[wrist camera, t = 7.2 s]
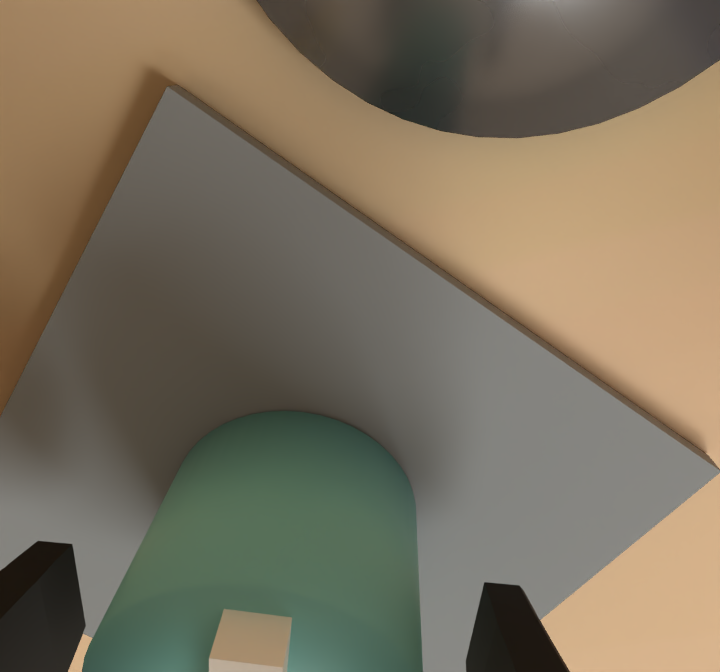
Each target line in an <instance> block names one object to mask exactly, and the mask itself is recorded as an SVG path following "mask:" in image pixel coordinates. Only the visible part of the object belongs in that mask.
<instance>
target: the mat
mask: <svg viewBox="0 0 720 672" xmlns="http://www.w3.org/2000/svg"><path fill="white" fill-rule="evenodd" d="M270 411H295V412H306V413H311V414H316V415H321V416H325V417H328V418H331V419H335V420H338V421H340V422H343V423H345V424H347V425H350V426H352V427H354V428H356V429H358V430H359V431H361V432H363V433H365V434H366V435H368V436H369V437H371V438H372V439H373V440H375V441H376V442H377V443H379V444H380V445H381V446H382V447H383V448H384V449H385V450H387V451H388V452H389V453H390V454H391V455H392V456H393V458H394V459H395V460H396V461H397V463H398V464H399V465H400V466H401V468H402V470H403V471H404V473H405V475H406V476H407V478H408V480H409V483H410V485H411V488H412V490H413V494H414V498H415V503H416V519H417V543H418V566H419V590H420V614H421V637H422V661H423V672H466V657H467V653H468V649H469V645H470V640H471V636H472V632H473V628H474V623H475V619H476V615H477V611H478V607H479V602H480V598H481V594H482V590H483V585H484V582H489V583H500V584H510V585H519V586H520V587H521V588H522V589H523V590H524V592H525V594H526V595H527V597H528V599H529V601H530V603H531V605H532V607H533V608H534V610H535V612H536V614H537V616H538V618H539V619H540V620H541V619H542V618H543V617H544V616H546V615H547V614H548V613H549V612H550V611H552V610H553V609H554V608H555V607H557V606H558V605H559V604H560V603H561V602H563V601H564V600H565V599H566V598H568V597H569V596H570V595H571V594H572V593H574V592H575V591H576V590H577V589H579V588H580V587H581V586H582V585H583V584H585V583H586V582H587V581H588V580H590V579H591V578H592V577H593V576H594V575H596V574H597V573H598V572H599V571H601V570H602V569H603V568H604V567H605V566H607V565H608V564H609V563H610V562H611V561H613V560H614V559H615V558H616V557H618V556H619V555H620V554H621V553H622V552H624V551H625V550H626V549H627V548H629V547H630V546H631V545H632V544H633V543H635V542H636V541H637V540H638V539H640V538H641V537H642V536H643V535H644V534H646V533H647V532H648V531H649V530H651V529H652V528H653V527H654V526H655V525H657V524H658V523H659V522H660V521H662V520H663V519H664V518H665V517H666V516H668V515H669V514H670V513H671V512H673V511H674V510H675V509H676V508H677V507H679V506H680V505H681V504H682V503H684V502H685V501H686V500H687V499H688V498H690V497H691V496H692V495H693V494H695V493H696V492H697V491H698V490H699V489H701V488H702V487H703V486H704V485H705V484H707V483H708V482H709V481H710V480H712V479H713V478H714V477H715V476H716V475H718V474H719V473H720V469H719V468H718V467H717V466H716V464H715V463H714V462H713V461H712V459H711V458H710V457H709V456H708V455H707V454H705V453H704V452H702V451H701V450H700V449H698V448H697V447H695V446H694V445H692V444H691V443H690V442H688V441H687V440H685V439H684V438H682V437H681V436H679V435H678V434H677V433H675V432H674V431H672V430H671V429H669V428H668V427H667V426H665V425H664V424H662V423H661V422H659V421H658V420H657V419H655V418H654V417H652V416H651V415H649V414H648V413H647V412H645V411H644V410H642V409H641V408H639V407H638V406H637V405H635V404H634V403H632V402H631V401H629V400H628V399H627V398H625V397H624V396H622V395H621V394H619V393H618V392H617V391H615V390H614V389H612V388H611V387H609V386H608V385H607V384H605V383H604V382H602V381H601V380H599V379H598V378H596V377H595V376H594V375H592V374H591V373H589V372H588V371H586V370H585V369H584V368H582V367H581V366H579V365H578V364H576V363H575V362H574V361H572V360H571V359H569V358H568V357H566V356H565V355H564V354H562V353H561V352H559V351H558V350H556V349H555V348H554V347H552V346H551V345H549V344H548V343H546V342H545V341H544V340H542V339H541V338H539V337H538V336H536V335H535V334H534V333H532V332H531V331H529V330H528V329H526V328H525V327H524V326H522V325H521V324H519V323H518V322H516V321H515V320H513V319H512V318H511V317H509V316H508V315H506V314H505V313H503V312H502V311H501V310H499V309H498V308H496V307H495V306H493V305H492V304H491V303H489V302H488V301H486V300H485V299H483V298H482V297H481V296H479V295H478V294H476V293H475V292H473V291H472V290H471V289H469V288H468V287H466V286H465V285H463V284H462V283H461V282H459V281H458V280H456V279H455V278H453V277H452V276H451V275H449V274H448V273H446V272H445V271H443V270H442V269H440V268H439V267H438V266H436V265H435V264H433V263H432V262H430V261H429V260H428V259H426V258H425V257H423V256H422V255H420V254H419V253H418V252H416V251H415V250H413V249H412V248H410V247H409V246H408V245H406V244H405V243H403V242H402V241H400V240H399V239H398V238H396V237H395V236H393V235H392V234H390V233H389V232H388V231H386V230H385V229H383V228H382V227H380V226H379V225H378V224H376V223H375V222H373V221H372V220H370V219H369V218H368V217H366V216H365V215H363V214H362V213H360V212H359V211H357V210H356V209H355V208H353V207H352V206H350V205H349V204H347V203H346V202H345V201H343V200H342V199H340V198H339V197H337V196H336V195H335V194H333V193H332V192H330V191H329V190H327V189H326V188H325V187H323V186H322V185H320V184H319V183H317V182H316V181H315V180H313V179H312V178H310V177H309V176H307V175H306V174H305V173H303V172H302V171H300V170H299V169H297V168H296V167H295V166H293V165H292V164H290V163H289V162H287V161H286V160H284V159H283V158H282V157H280V156H279V155H277V154H276V153H274V152H273V151H272V150H270V149H269V148H267V147H266V146H264V145H263V144H262V143H260V142H259V141H257V140H256V139H254V138H253V137H252V136H250V135H249V134H247V133H246V132H244V131H243V130H242V129H240V128H239V127H237V126H236V125H234V124H233V123H232V122H230V121H229V120H227V119H226V118H224V117H223V116H222V115H220V114H219V113H217V112H216V111H214V110H213V109H212V108H210V107H209V106H207V105H206V104H204V103H203V102H201V101H200V100H199V99H197V98H196V97H194V96H193V95H191V94H190V93H189V92H187V91H186V90H184V89H183V88H181V87H180V86H179V85H174V86H167V88H166V90H165V92H164V94H163V96H162V98H161V100H160V102H159V104H158V106H157V108H156V110H155V112H154V113H153V115H152V117H151V119H150V121H149V123H148V125H147V127H146V129H145V131H144V133H143V135H142V137H141V139H140V141H139V143H138V145H137V147H136V149H135V151H134V153H133V155H132V157H131V159H130V161H129V163H128V165H127V167H126V169H125V171H124V173H123V175H122V177H121V179H120V181H119V183H118V185H117V187H116V189H115V191H114V193H113V195H112V197H111V199H110V201H109V203H108V205H107V206H106V208H105V210H104V212H103V214H102V216H101V218H100V220H99V222H98V224H97V226H96V228H95V230H94V232H93V234H92V236H91V238H90V240H89V242H88V244H87V246H86V248H85V250H84V252H83V254H82V256H81V258H80V260H79V262H78V264H77V266H76V268H75V270H74V272H73V274H72V276H71V278H70V280H69V282H68V284H67V286H66V288H65V290H64V292H63V294H62V296H61V298H60V300H59V301H58V303H57V305H56V307H55V309H54V311H53V313H52V315H51V317H50V319H49V321H48V323H47V325H46V327H45V329H44V331H43V333H42V335H41V337H40V339H39V341H38V343H37V345H36V347H35V349H34V351H33V353H32V355H31V357H30V359H29V361H28V363H27V365H26V367H25V369H24V371H23V373H22V375H21V377H20V379H19V381H18V383H17V385H16V387H15V389H14V391H13V393H12V394H11V396H10V398H9V400H8V402H7V404H6V406H5V408H4V410H3V412H2V414H1V416H0V571H1V570H2V569H3V568H4V567H5V566H7V565H8V564H9V563H10V562H12V561H13V560H14V559H15V558H17V557H18V556H19V555H20V554H22V553H23V552H24V551H25V550H27V549H28V548H29V547H31V546H32V545H33V544H34V543H36V542H37V541H46V542H57V543H68V544H72V545H73V551H74V557H75V563H76V569H77V575H78V581H79V587H80V593H81V599H82V605H83V611H84V618H85V624H86V627H85V629H84V632H83V634H85V635H87V636H89V637H92V638H93V637H94V635H95V633H96V631H97V629H98V627H99V625H100V623H101V621H102V619H103V617H104V615H105V613H106V611H107V609H108V607H109V605H110V603H111V601H112V599H113V597H114V596H115V594H116V592H117V590H118V588H119V586H120V584H121V582H122V580H123V578H124V576H125V574H126V572H127V570H128V568H129V566H130V564H131V562H132V560H133V558H134V556H135V554H136V552H137V550H138V549H139V547H140V545H141V543H142V541H143V539H144V537H145V535H146V533H147V531H148V529H149V527H150V525H151V523H152V521H153V519H154V517H155V515H156V513H157V511H158V509H159V507H160V505H161V503H162V502H163V500H164V498H165V496H166V494H167V492H168V490H169V488H170V486H171V484H172V482H173V480H174V478H175V476H176V474H177V472H178V470H179V468H180V466H181V464H182V462H183V461H184V459H185V458H186V456H187V454H188V453H189V451H190V450H191V449H192V448H193V447H194V446H195V445H196V444H197V442H198V441H199V440H201V439H202V438H203V437H204V436H206V435H207V434H208V433H209V432H211V431H213V430H214V429H216V428H218V427H219V426H221V425H223V424H225V423H227V422H230V421H232V420H234V419H237V418H240V417H244V416H247V415H251V414H256V413H263V412H270Z"/></svg>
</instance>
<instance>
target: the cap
mask: <svg viewBox="0 0 720 672" xmlns="http://www.w3.org/2000/svg"><path fill="white" fill-rule="evenodd" d="M82 672H423V661H422V637H421V614H420V590H419V566H418V543H417V519H416V503H415V498H414V494H413V490H412V488H411V485H410V483H409V480H408V478H407V476H406V475H405V473H404V471H403V470H402V468H401V466H400V465H399V464H398V463H397V461H396V460H395V459H394V458H393V456H392V455H391V454H390V453H389V452H388V451H387V450H385V449H384V448H383V447H382V446H381V445H380V444H379V443H377V442H376V441H375V440H373V439H372V438H371V437H369V436H368V435H366V434H365V433H363V432H361V431H359V430H358V429H356V428H354V427H352V426H350V425H347V424H345V423H343V422H340V421H338V420H335V419H331V418H328V417H325V416H321V415H316V414H311V413H306V412H295V411H270V412H263V413H256V414H251V415H247V416H244V417H240V418H237V419H234V420H232V421H230V422H227V423H225V424H223V425H221V426H219V427H218V428H216V429H214V430H213V431H211V432H209V433H208V434H207V435H206V436H204V437H203V438H202V439H201V440H199V441H198V442H197V444H196V445H195V446H194V447H193V448H192V449H191V450H190V451H189V453H188V454H187V456H186V458H185V459H184V461H183V462H182V464H181V466H180V468H179V470H178V472H177V474H176V476H175V478H174V480H173V482H172V484H171V486H170V488H169V490H168V492H167V494H166V496H165V498H164V500H163V502H162V503H161V505H160V507H159V509H158V511H157V513H156V515H155V517H154V519H153V521H152V523H151V525H150V527H149V529H148V531H147V533H146V535H145V537H144V539H143V541H142V543H141V545H140V547H139V549H138V550H137V552H136V554H135V556H134V558H133V560H132V562H131V564H130V566H129V568H128V570H127V572H126V574H125V576H124V578H123V580H122V582H121V584H120V586H119V588H118V590H117V592H116V594H115V596H114V597H113V599H112V601H111V603H110V605H109V607H108V609H107V611H106V613H105V615H104V617H103V619H102V621H101V623H100V625H99V627H98V629H97V631H96V633H95V635H94V637H93V639H92V641H91V643H90V645H89V647H88V650H87V652H86V655H85V657H84V663H83V669H82Z"/></svg>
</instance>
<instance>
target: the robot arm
mask: <svg viewBox="0 0 720 672" xmlns="http://www.w3.org/2000/svg"><path fill="white" fill-rule="evenodd" d="M85 627H86V624H85V618H84V611H83V605H82V599H81V593H80V587H79V581H78V575H77V569H76V563H75V557H74V551H73V545H72V544H68V543H57V542H46V541H37V542H36V543H34V544H33V545H32V546H31V547H29V548H28V549H27V550H25V551H24V552H23V553H22V554H20V555H19V556H18V557H17V558H15V559H14V560H13V561H12V562H10V563H9V564H8V565H7V566H5V567H4V568H3V569H2V570H1V571H0V672H68V669H69V667H70V665H71V662H72V660H73V657H74V655H75V652H76V650H77V647H78V645H79V642H80V640H81V637H82V634H83V632H84V629H85ZM466 672H570V671H569V669H568V668H567V666H566V664H565V663H564V661H563V659H562V658H561V656H560V654H559V653H558V651H557V649H556V647H555V646H554V644H553V642H552V641H551V639H550V637H549V635H548V634H547V632H546V630H545V628H544V627H543V625H542V623H541V621H540V619H539V618H538V616H537V614H536V612H535V610H534V608H533V607H532V605H531V603H530V601H529V599H528V597H527V595H526V594H525V592H524V590H523V589H522V588H521V587H520V586H519V585H510V584H500V583H489V582H484V585H483V590H482V594H481V598H480V602H479V607H478V611H477V615H476V619H475V623H474V628H473V632H472V636H471V640H470V645H469V649H468V653H467V657H466Z"/></svg>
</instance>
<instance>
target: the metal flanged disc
mask: <svg viewBox="0 0 720 672" xmlns="http://www.w3.org/2000/svg"><path fill="white" fill-rule="evenodd" d="M257 1H258V3H259V4H260V6H261V7H262V8H263V10H264V11H265V13H266V14H267V15H268V17H269V18H270V20H271V21H272V22H273V23H274V24H275V25H276V26H277V27H278V28H279V30H280V31H281V32H282V33H283V34H284V35H285V36H286V37H287V38H288V39H289V41H290V42H291V43H292V44H293V45H294V46H295V47H296V48H297V49H298V50H299V52H300V53H302V54H303V55H304V56H305V57H306V58H307V59H309V60H310V61H311V62H312V63H313V64H314V65H316V66H317V67H318V68H319V69H320V70H321V71H323V72H324V73H325V74H326V75H327V76H328V77H330V78H331V79H332V80H333V81H335V82H336V83H338V84H339V85H341V86H343V87H344V88H346V89H347V90H349V91H350V92H352V93H353V94H355V95H356V96H358V97H360V98H361V99H363V100H364V101H366V102H367V103H369V104H372V105H374V106H376V107H378V108H380V109H382V110H384V111H387V112H389V113H391V114H393V115H395V116H397V117H399V118H401V119H404V120H407V121H410V122H413V123H417V124H420V125H423V126H426V127H430V128H433V129H436V130H439V131H445V132H451V133H457V134H463V135H469V136H475V137H498V138H522V137H531V136H540V135H549V134H558V133H562V132H566V131H570V130H574V129H579V128H583V127H587V126H591V125H595V124H599V123H601V122H604V121H607V120H609V119H612V118H614V117H617V116H620V115H622V114H625V113H628V112H630V111H633V110H635V109H638V108H640V107H642V106H644V105H646V104H648V103H650V102H652V101H654V100H656V99H657V98H659V97H661V96H663V95H665V94H667V93H669V92H671V91H673V90H675V89H677V88H679V87H680V86H682V85H683V84H685V83H686V82H688V81H689V80H691V79H692V78H694V77H695V76H697V75H698V74H700V73H701V72H702V71H704V70H705V69H707V68H708V67H710V66H711V65H713V64H714V63H716V62H717V61H719V60H720V0H257Z"/></svg>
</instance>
